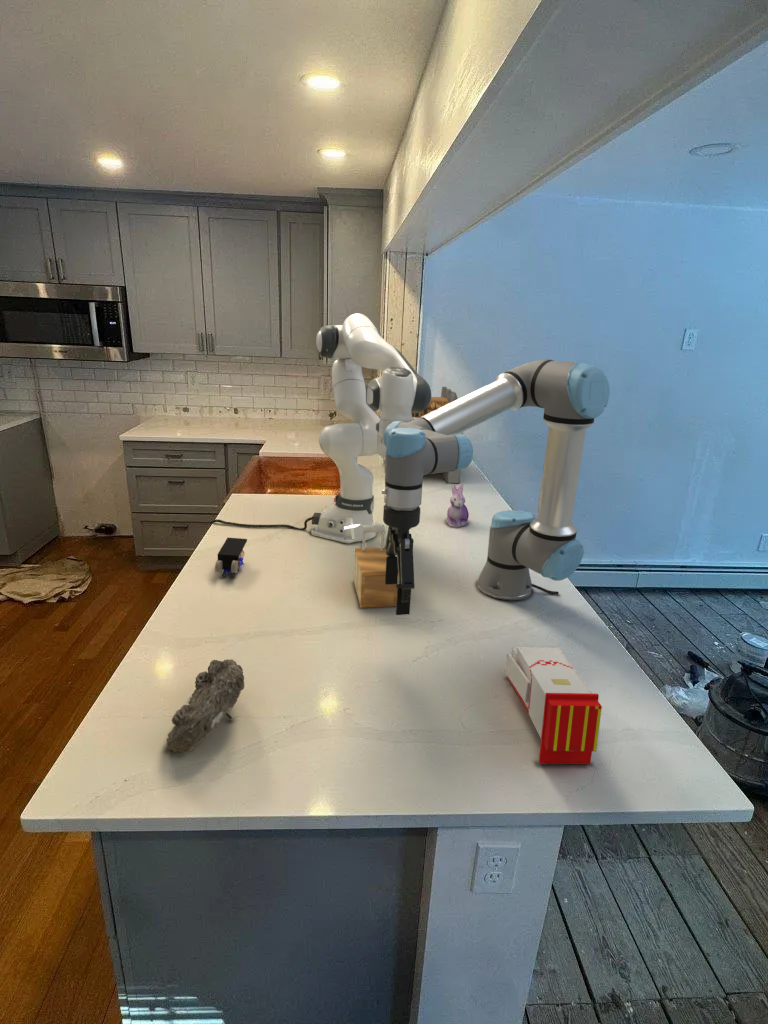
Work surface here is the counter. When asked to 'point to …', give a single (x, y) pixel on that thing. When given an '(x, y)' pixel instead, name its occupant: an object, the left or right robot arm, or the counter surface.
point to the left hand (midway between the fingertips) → (393, 478)
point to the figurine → (457, 508)
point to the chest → (373, 590)
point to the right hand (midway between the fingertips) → (396, 598)
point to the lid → (372, 554)
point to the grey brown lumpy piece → (206, 705)
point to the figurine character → (230, 556)
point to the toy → (556, 704)
